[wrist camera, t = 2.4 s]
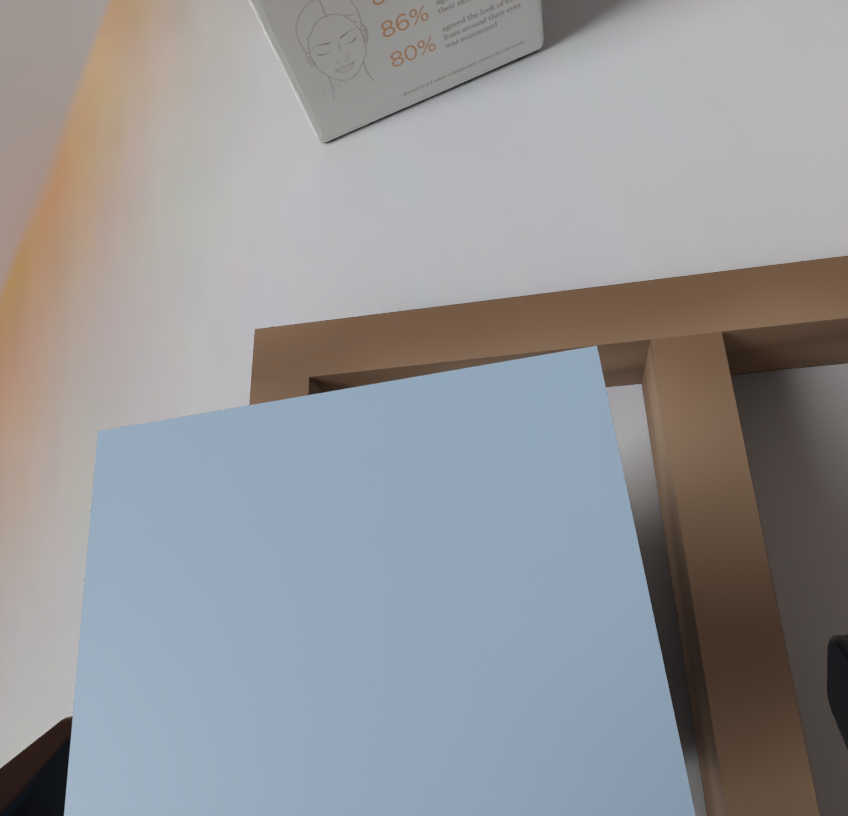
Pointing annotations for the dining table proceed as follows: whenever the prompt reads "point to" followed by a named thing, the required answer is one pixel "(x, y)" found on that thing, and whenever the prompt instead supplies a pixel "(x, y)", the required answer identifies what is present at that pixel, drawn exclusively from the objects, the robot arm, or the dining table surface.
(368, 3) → the small box
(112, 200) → the dining table surface
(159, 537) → the pale blue tall block
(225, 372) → the dining table surface
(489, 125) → the dining table surface
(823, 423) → the dining table surface
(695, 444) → the comb rack
